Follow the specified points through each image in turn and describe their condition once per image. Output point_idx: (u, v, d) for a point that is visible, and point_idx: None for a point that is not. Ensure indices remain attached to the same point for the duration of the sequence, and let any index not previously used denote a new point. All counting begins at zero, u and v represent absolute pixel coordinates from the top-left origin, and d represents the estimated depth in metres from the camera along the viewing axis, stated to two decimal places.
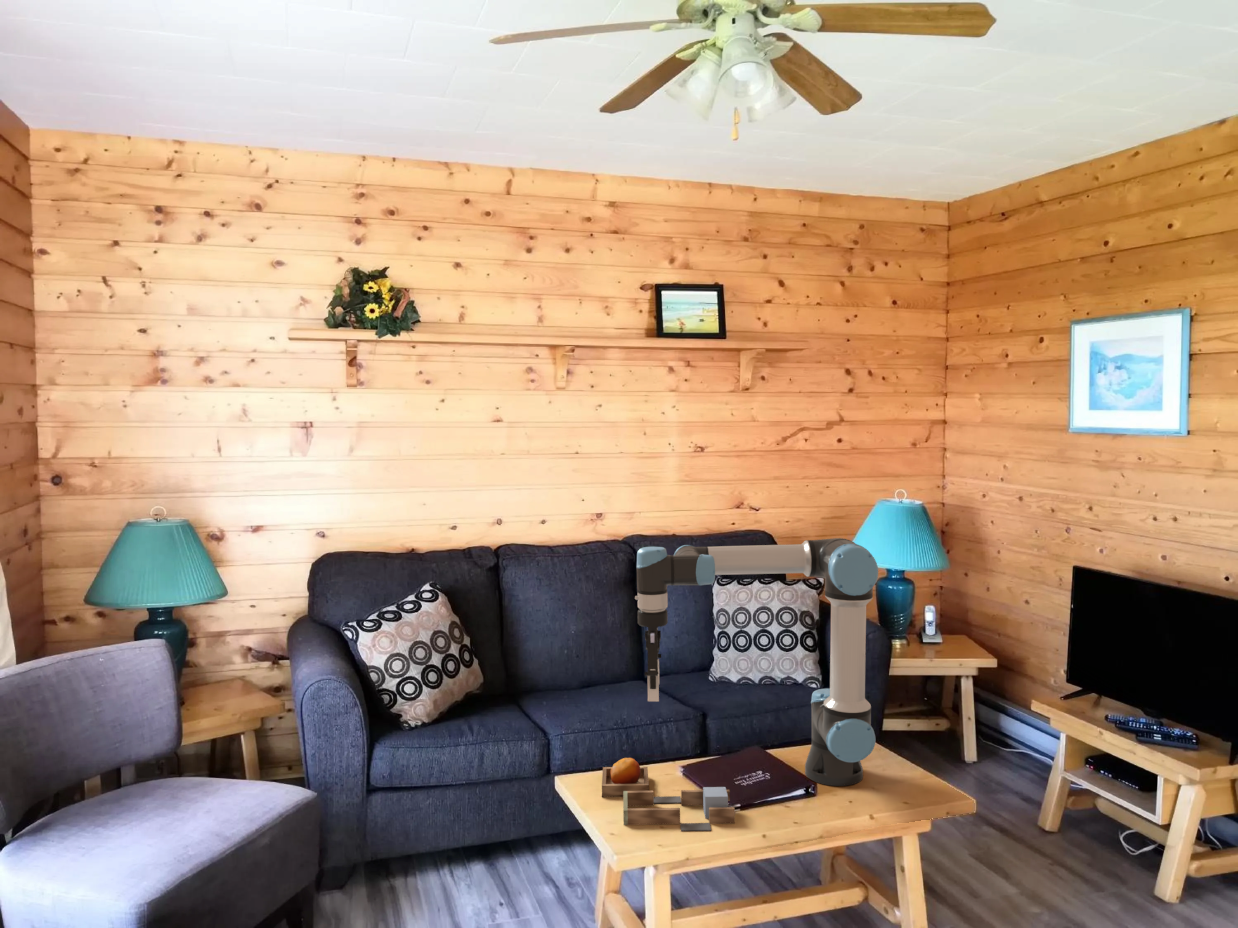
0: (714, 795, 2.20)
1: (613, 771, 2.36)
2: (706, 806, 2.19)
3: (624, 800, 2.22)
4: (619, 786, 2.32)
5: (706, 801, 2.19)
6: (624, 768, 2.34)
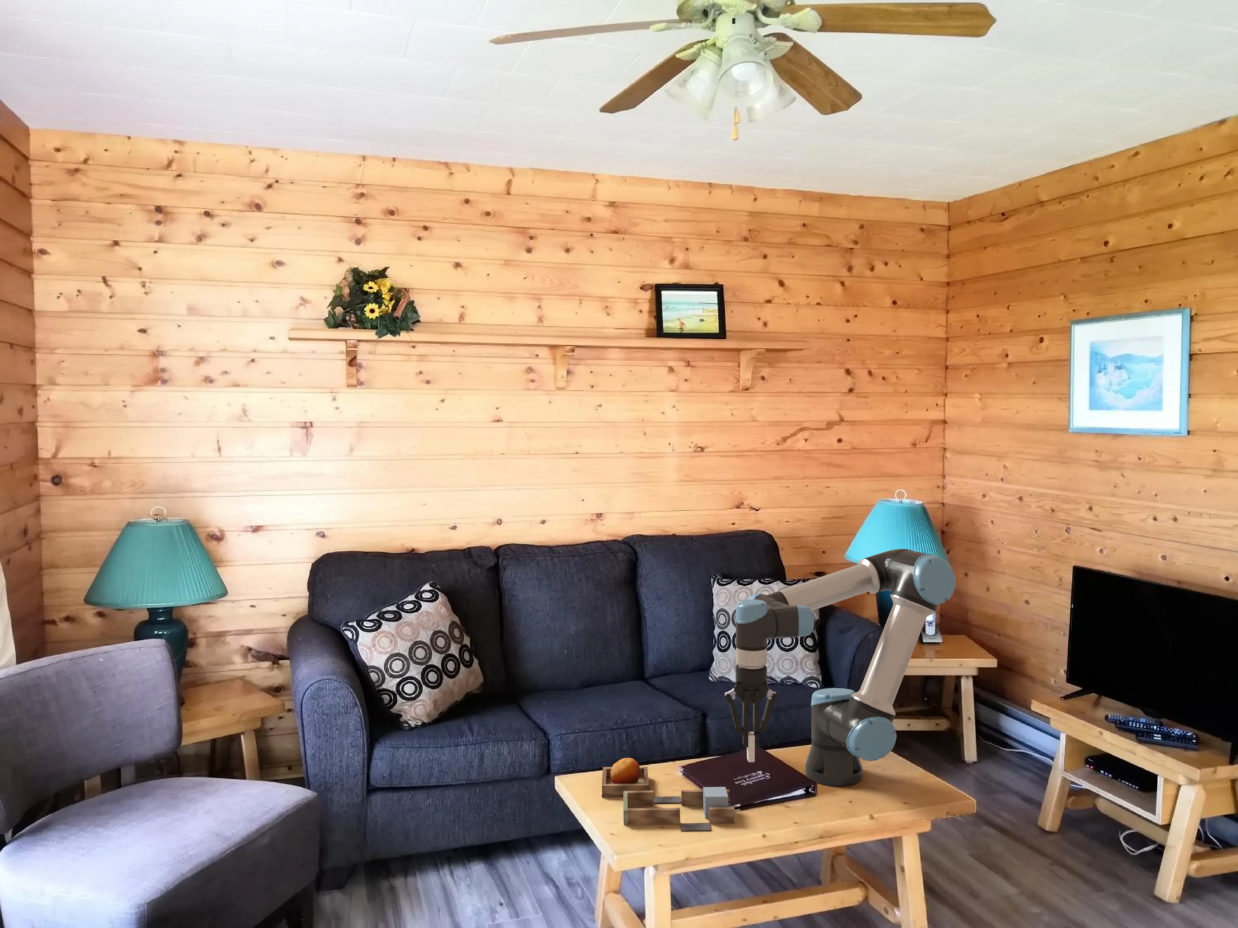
0: (714, 795, 2.20)
1: (613, 771, 2.36)
2: (706, 806, 2.19)
3: (624, 800, 2.22)
4: (619, 786, 2.32)
5: (706, 801, 2.19)
6: (623, 768, 2.34)
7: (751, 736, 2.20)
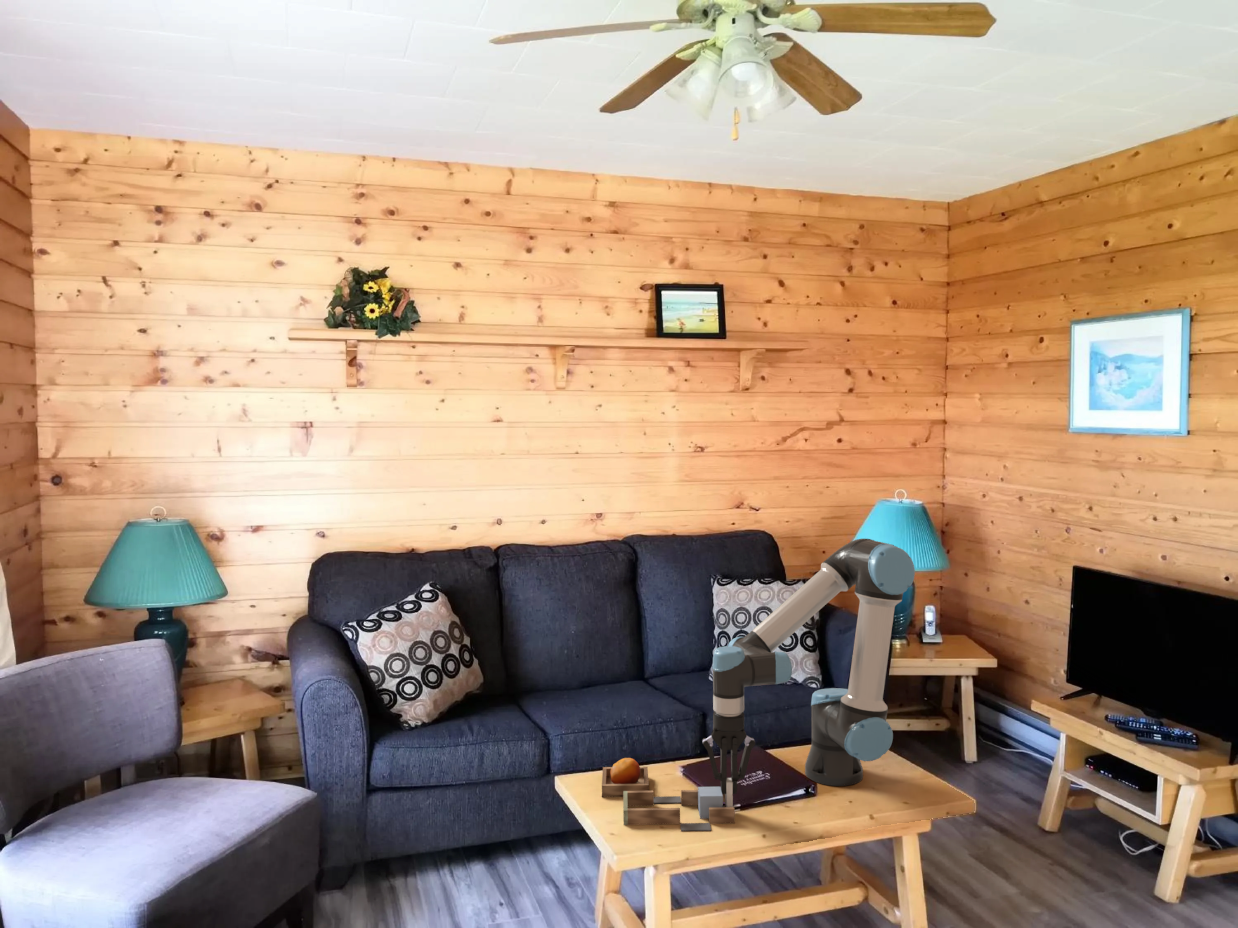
0: (709, 795, 2.20)
1: (613, 771, 2.36)
2: (701, 806, 2.19)
3: (624, 800, 2.22)
4: (619, 786, 2.32)
5: (701, 801, 2.19)
6: (623, 768, 2.34)
7: (729, 783, 2.20)
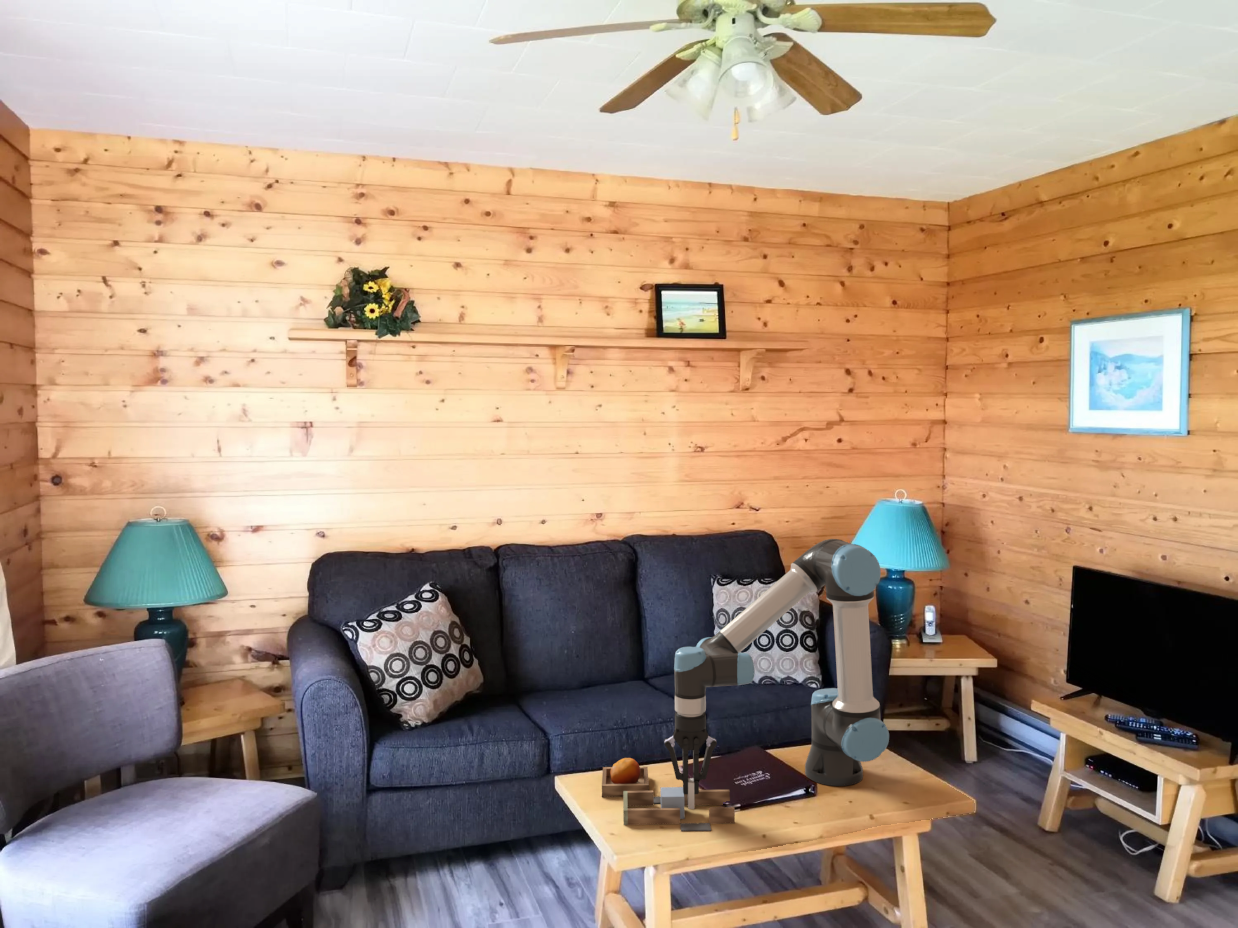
0: (670, 795, 2.20)
1: (613, 771, 2.36)
2: (662, 806, 2.19)
3: (624, 800, 2.22)
4: (619, 786, 2.32)
5: (662, 801, 2.19)
6: (623, 768, 2.34)
7: (691, 783, 2.20)
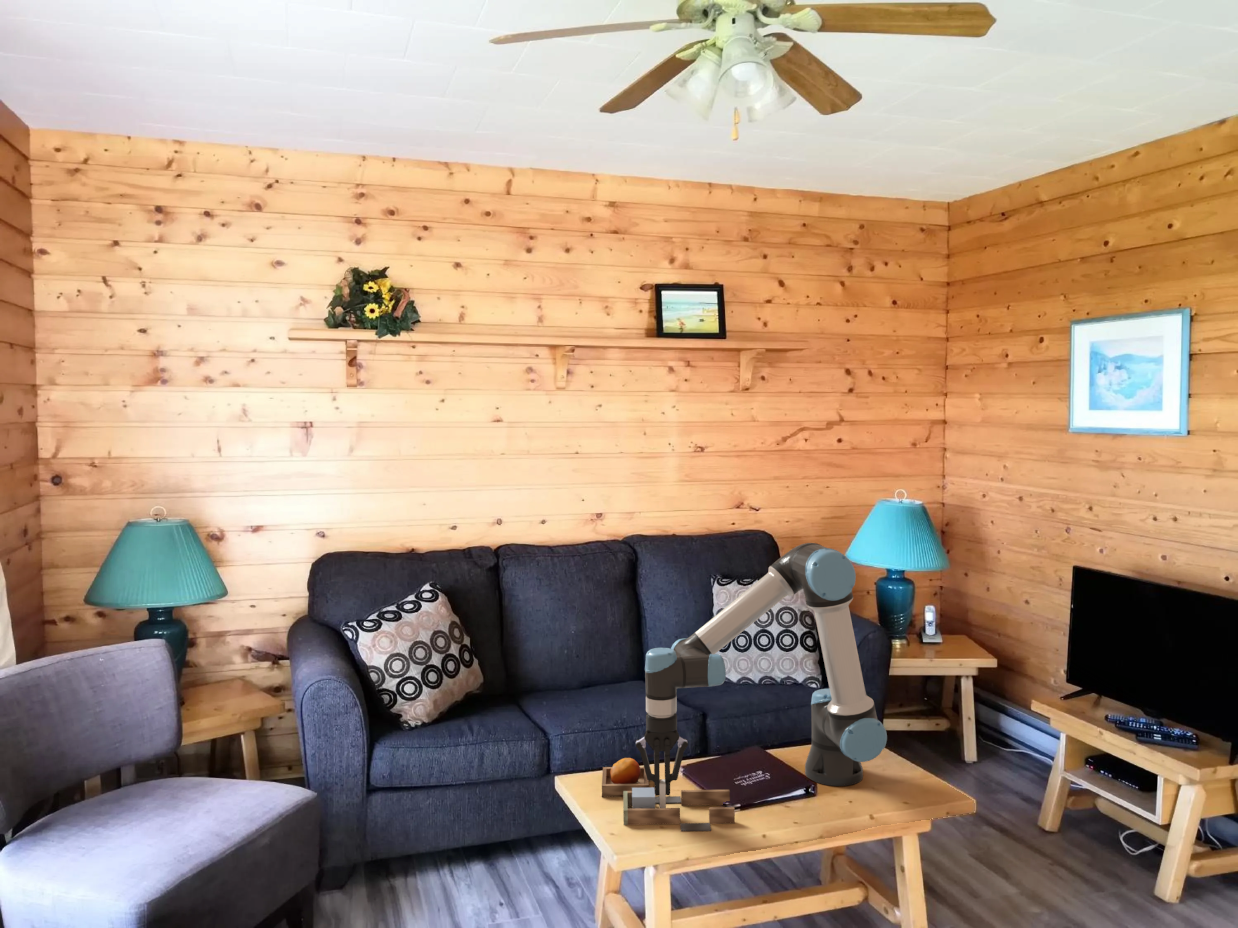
0: (641, 795, 2.20)
1: (613, 771, 2.36)
2: (633, 806, 2.19)
3: (624, 800, 2.22)
4: (619, 786, 2.32)
5: (633, 801, 2.19)
6: (623, 768, 2.34)
7: (662, 784, 2.20)
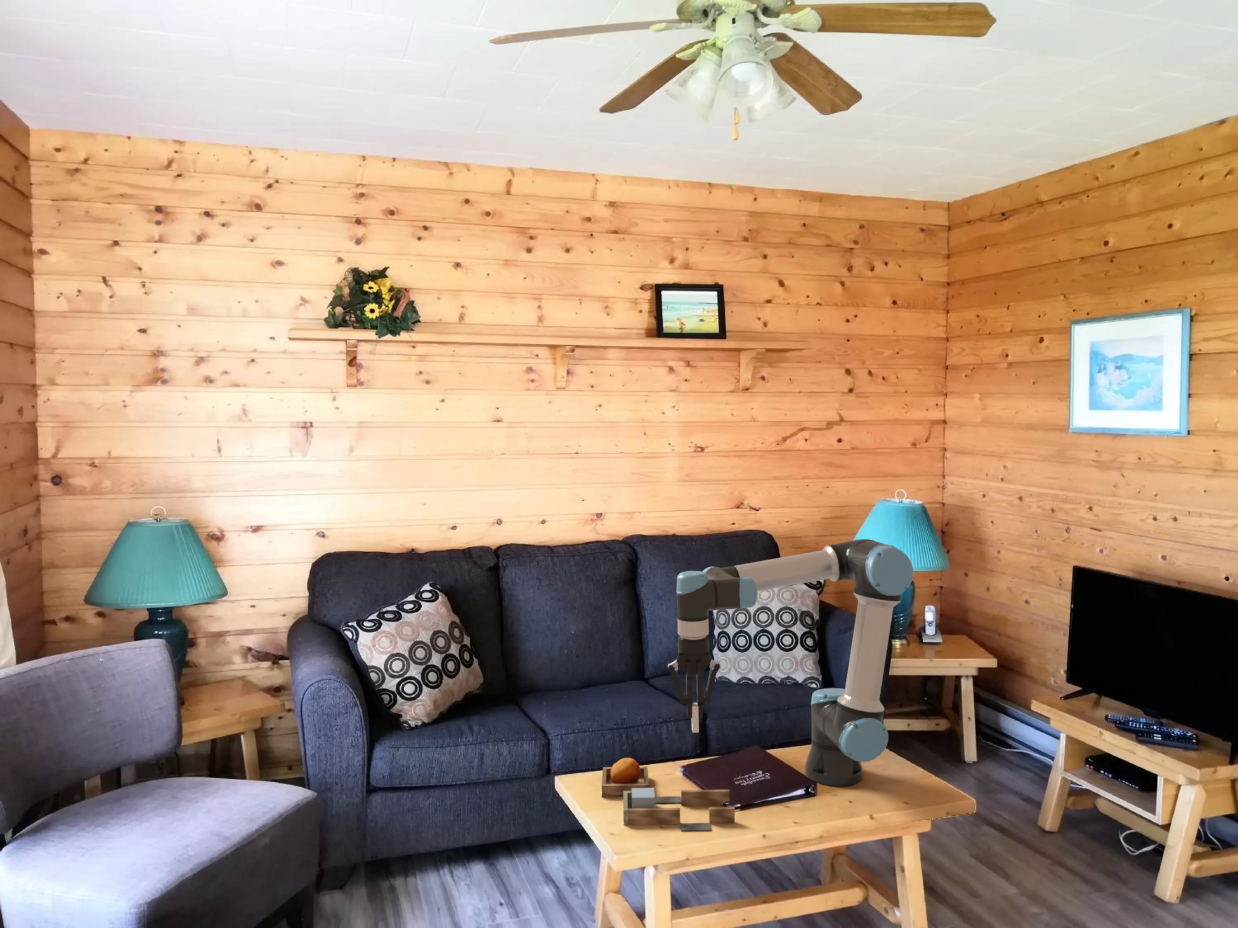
0: (641, 796, 2.20)
1: (613, 771, 2.36)
2: (633, 807, 2.19)
3: (624, 800, 2.22)
4: (619, 786, 2.32)
5: (633, 802, 2.19)
6: (623, 768, 2.34)
7: (695, 707, 2.20)
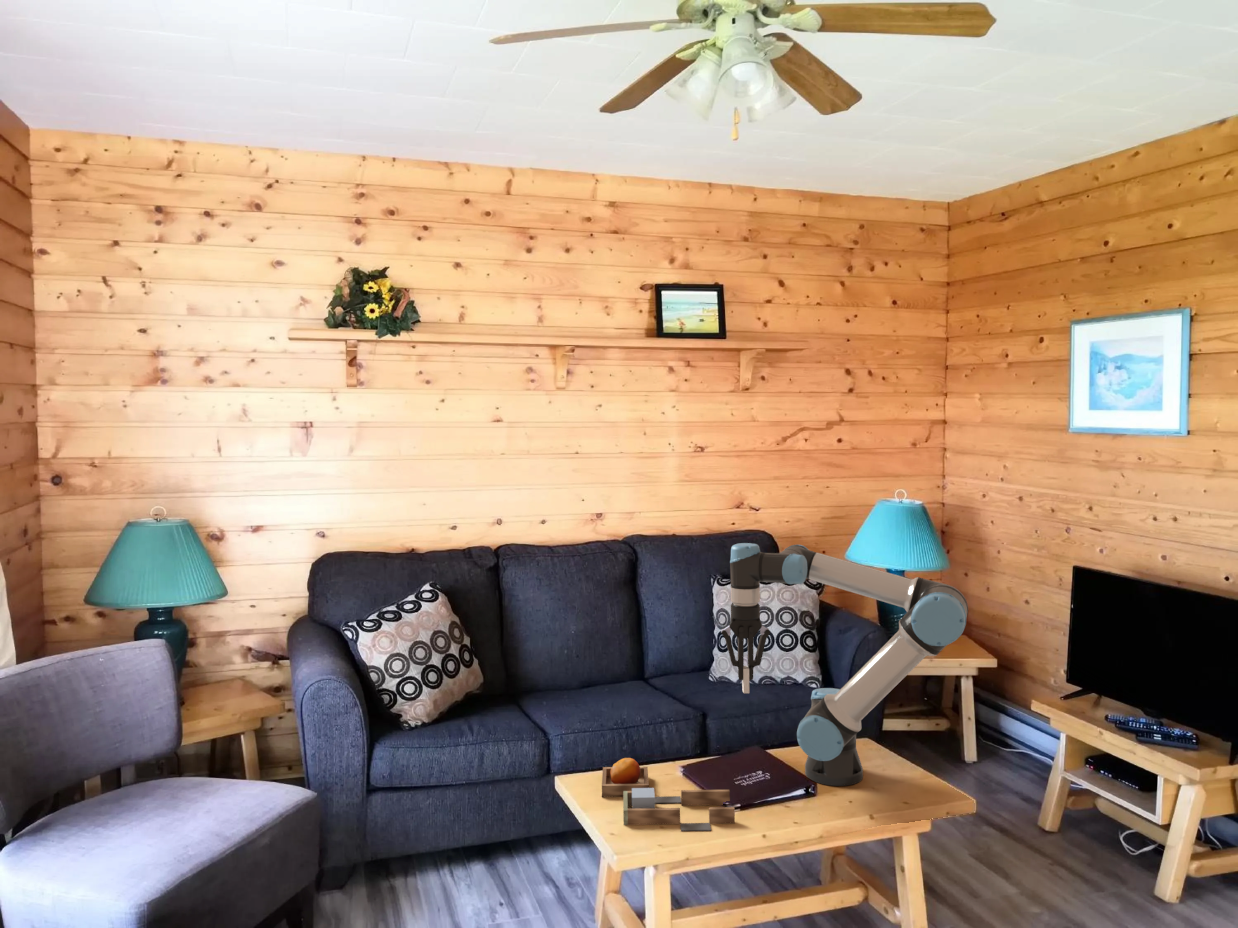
0: (641, 796, 2.20)
1: (613, 771, 2.36)
2: (633, 807, 2.19)
3: (624, 800, 2.22)
4: (619, 786, 2.32)
5: (633, 802, 2.19)
6: (623, 768, 2.34)
7: (746, 669, 2.37)
